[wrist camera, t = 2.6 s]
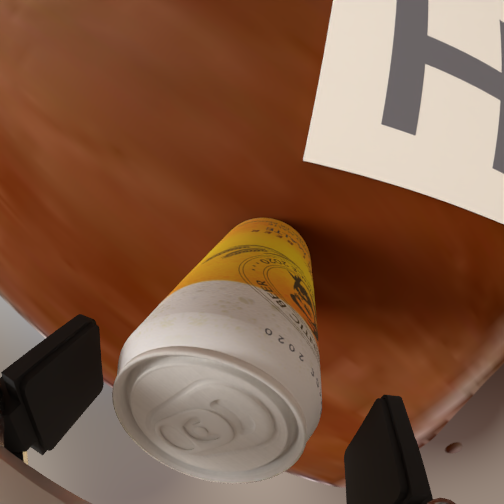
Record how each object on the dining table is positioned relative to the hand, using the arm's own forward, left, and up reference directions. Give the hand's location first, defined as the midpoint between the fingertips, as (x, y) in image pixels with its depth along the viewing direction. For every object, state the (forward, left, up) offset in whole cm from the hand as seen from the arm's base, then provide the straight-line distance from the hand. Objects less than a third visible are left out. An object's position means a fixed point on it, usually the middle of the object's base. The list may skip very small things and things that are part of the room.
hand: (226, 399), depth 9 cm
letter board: (-17, +11, -13) cm, 24 cm away
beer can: (0, 0, -13) cm, 13 cm away
